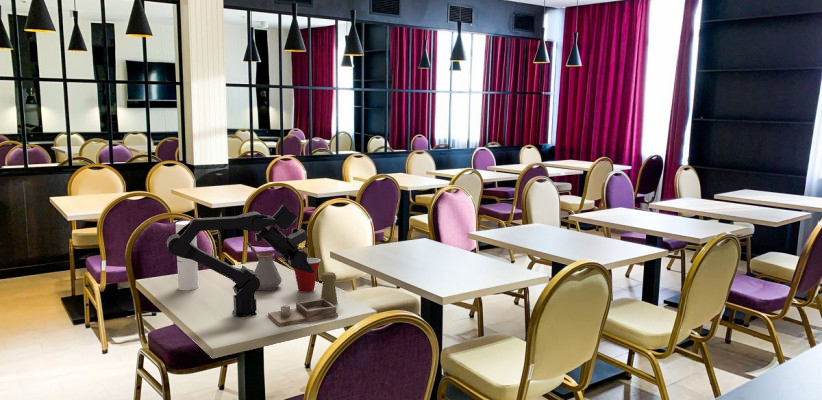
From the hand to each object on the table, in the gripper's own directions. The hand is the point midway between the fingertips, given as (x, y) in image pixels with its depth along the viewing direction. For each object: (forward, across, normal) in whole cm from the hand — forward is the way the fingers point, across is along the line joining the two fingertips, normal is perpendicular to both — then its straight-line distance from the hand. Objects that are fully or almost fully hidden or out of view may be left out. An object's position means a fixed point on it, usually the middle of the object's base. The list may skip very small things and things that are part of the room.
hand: (309, 269), depth 216 cm
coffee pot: (+2, +32, +17) cm, 37 cm away
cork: (+14, 0, +4) cm, 15 cm away
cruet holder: (+5, -10, +13) cm, 17 cm away
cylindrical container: (-17, +39, +35) cm, 55 cm away
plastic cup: (+12, +19, +7) cm, 23 cm away
